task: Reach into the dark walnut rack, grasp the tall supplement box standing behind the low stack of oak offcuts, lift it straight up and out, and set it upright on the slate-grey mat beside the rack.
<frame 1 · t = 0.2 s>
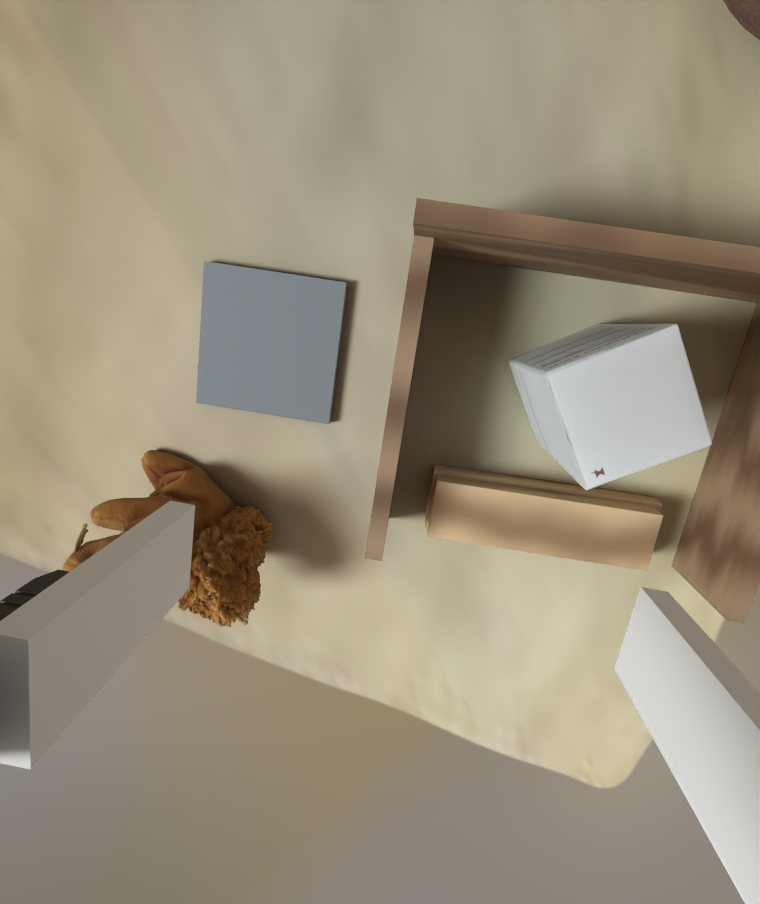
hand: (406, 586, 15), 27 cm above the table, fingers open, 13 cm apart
walnut rack: (562, 403, 40), on the table
stuffed squirrel: (211, 518, 45), on the table
supplement box: (566, 383, 40), on the table
offcut stack: (535, 507, 43), on the table
slate mat: (271, 344, 41), on the table
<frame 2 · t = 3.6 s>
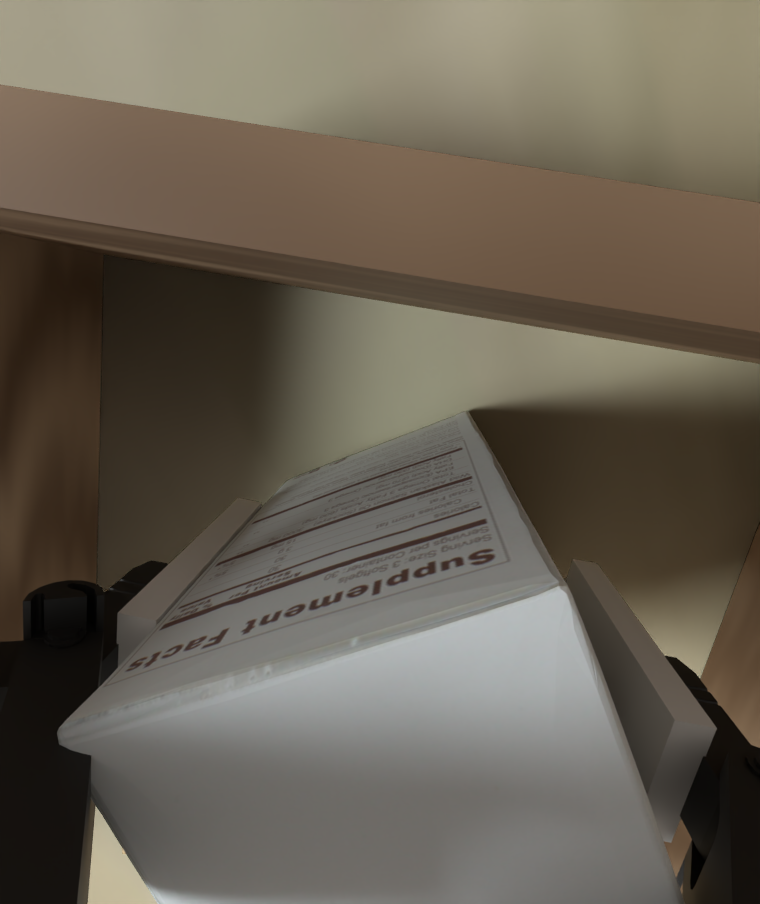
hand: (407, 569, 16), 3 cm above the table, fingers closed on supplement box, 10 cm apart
walnut rack: (402, 565, 19), on the table
supplement box: (409, 527, 19), on the table, touching gripper
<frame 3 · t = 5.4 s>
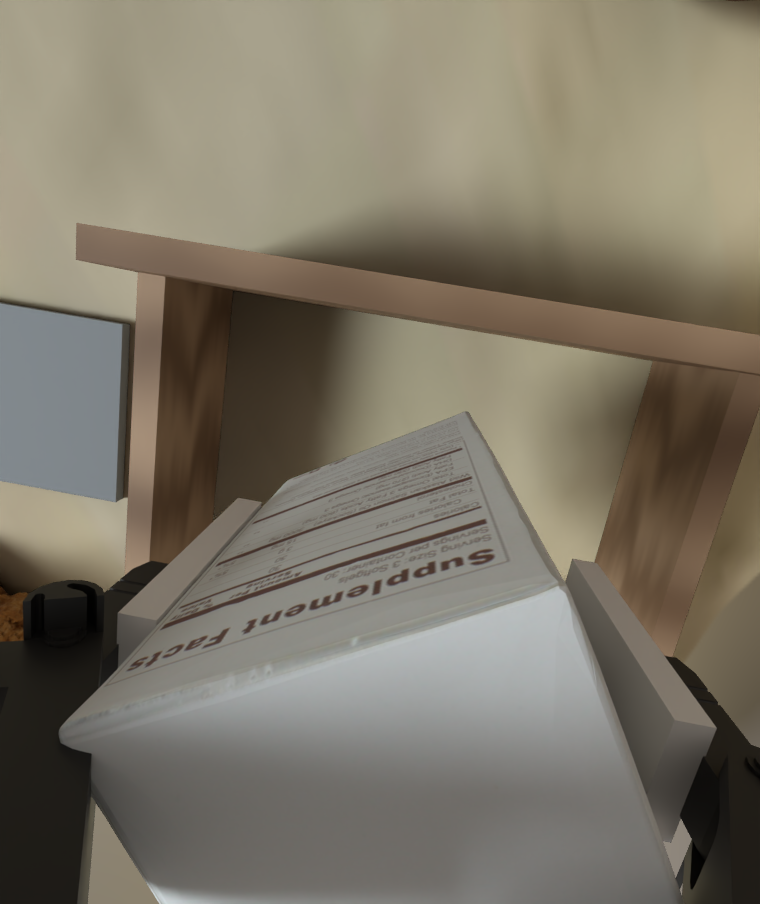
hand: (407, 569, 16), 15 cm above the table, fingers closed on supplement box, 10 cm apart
walnut rack: (410, 481, 31), on the table
supplement box: (409, 527, 19), point 12 cm above the table, touching gripper
slate mat: (41, 399, 32), on the table
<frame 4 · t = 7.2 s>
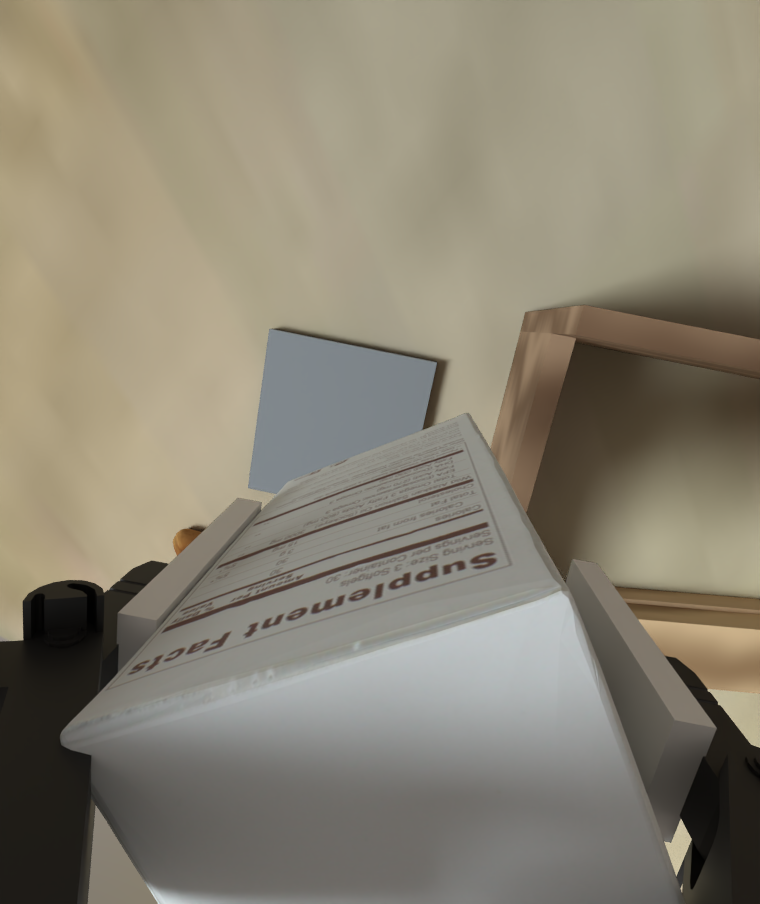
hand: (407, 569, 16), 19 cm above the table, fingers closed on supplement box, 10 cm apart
walnut rack: (677, 510, 35), on the table
stuffed squirrel: (249, 606, 39), on the table
supplement box: (410, 528, 19), point 16 cm above the table, touching gripper
offcut stack: (634, 617, 37), on the table
slate mat: (340, 425, 35), on the table
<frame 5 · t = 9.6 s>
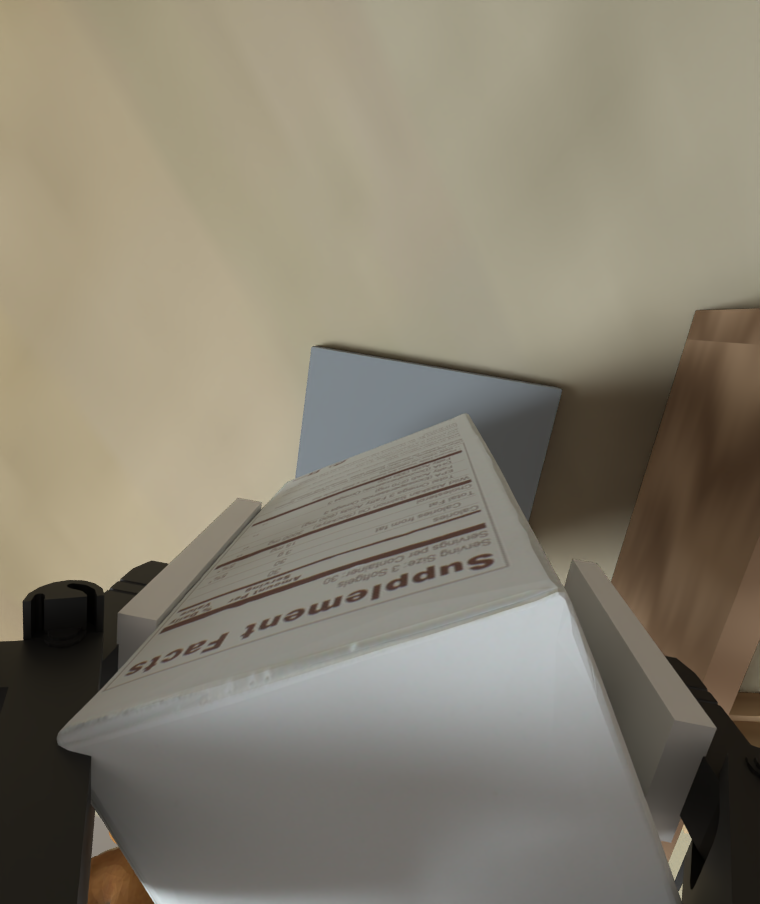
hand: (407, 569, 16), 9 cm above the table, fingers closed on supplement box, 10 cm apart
stuffed squirrel: (285, 717, 29), on the table
supplement box: (409, 529, 19), point 5 cm above the table, touching gripper
slate mat: (413, 481, 24), on the table
when the fingers open (5 cm above the table, at t = 11.3 s): supplement box drops 1 cm, resting on slate mat.
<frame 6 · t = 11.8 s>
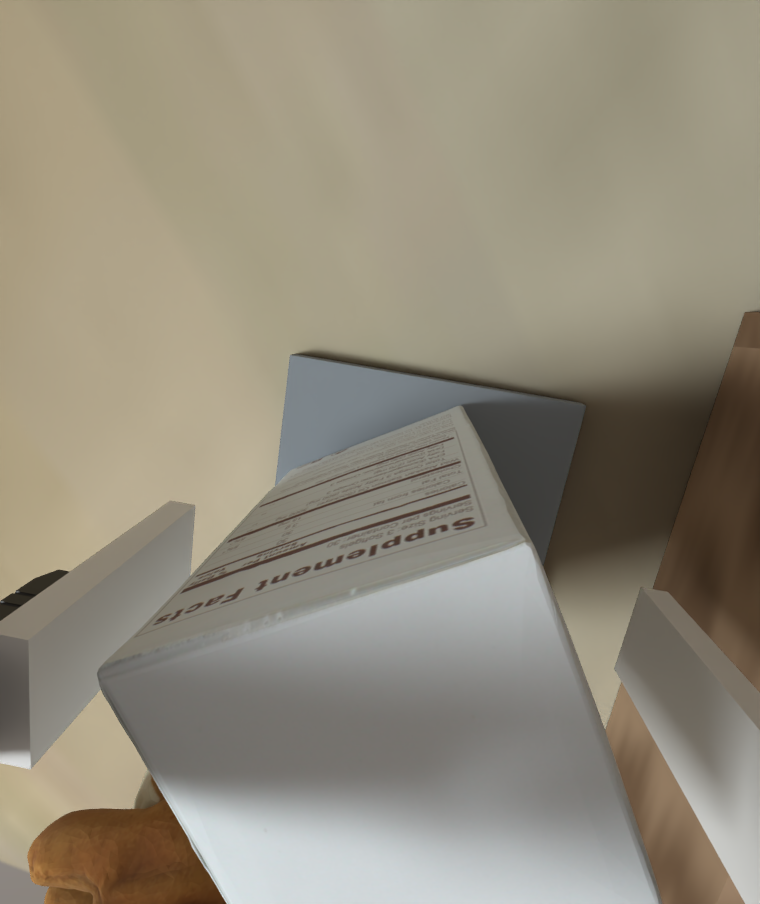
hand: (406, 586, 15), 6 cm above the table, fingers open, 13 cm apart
stuffed squirrel: (263, 772, 25), on the table
supplement box: (406, 515, 20), point 1 cm above the table, touching slate mat
slate mat: (410, 510, 21), on the table
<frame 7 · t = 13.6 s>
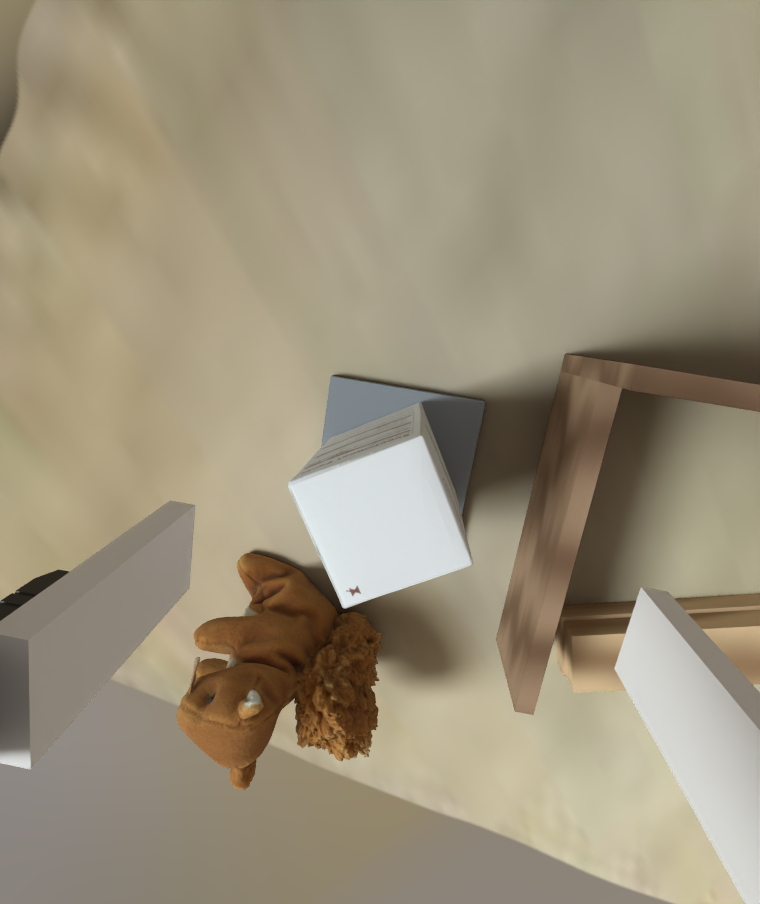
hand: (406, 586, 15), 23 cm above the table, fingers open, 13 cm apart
walnut rack: (709, 528, 37), on the table
stuffed squirrel: (308, 622, 42), on the table
supplement box: (392, 462, 37), point 1 cm above the table, touching slate mat
offcut stack: (673, 625, 40), on the table
slate mat: (395, 461, 38), on the table
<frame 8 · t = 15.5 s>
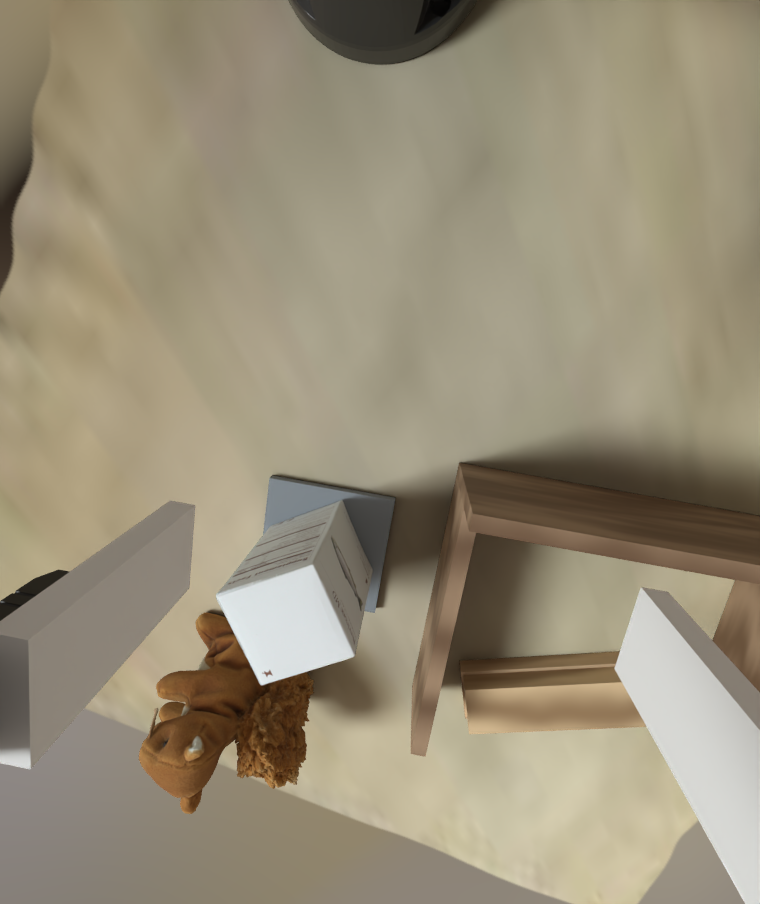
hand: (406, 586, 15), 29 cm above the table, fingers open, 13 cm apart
walnut rack: (582, 601, 46), on the table
stuffed squirrel: (256, 668, 50), on the table
supplement box: (322, 545, 46), point 1 cm above the table, touching slate mat
offcut stack: (557, 675, 48), on the table
slate mat: (325, 543, 46), on the table
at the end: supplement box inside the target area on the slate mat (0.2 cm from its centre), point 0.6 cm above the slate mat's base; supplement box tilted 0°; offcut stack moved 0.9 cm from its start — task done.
